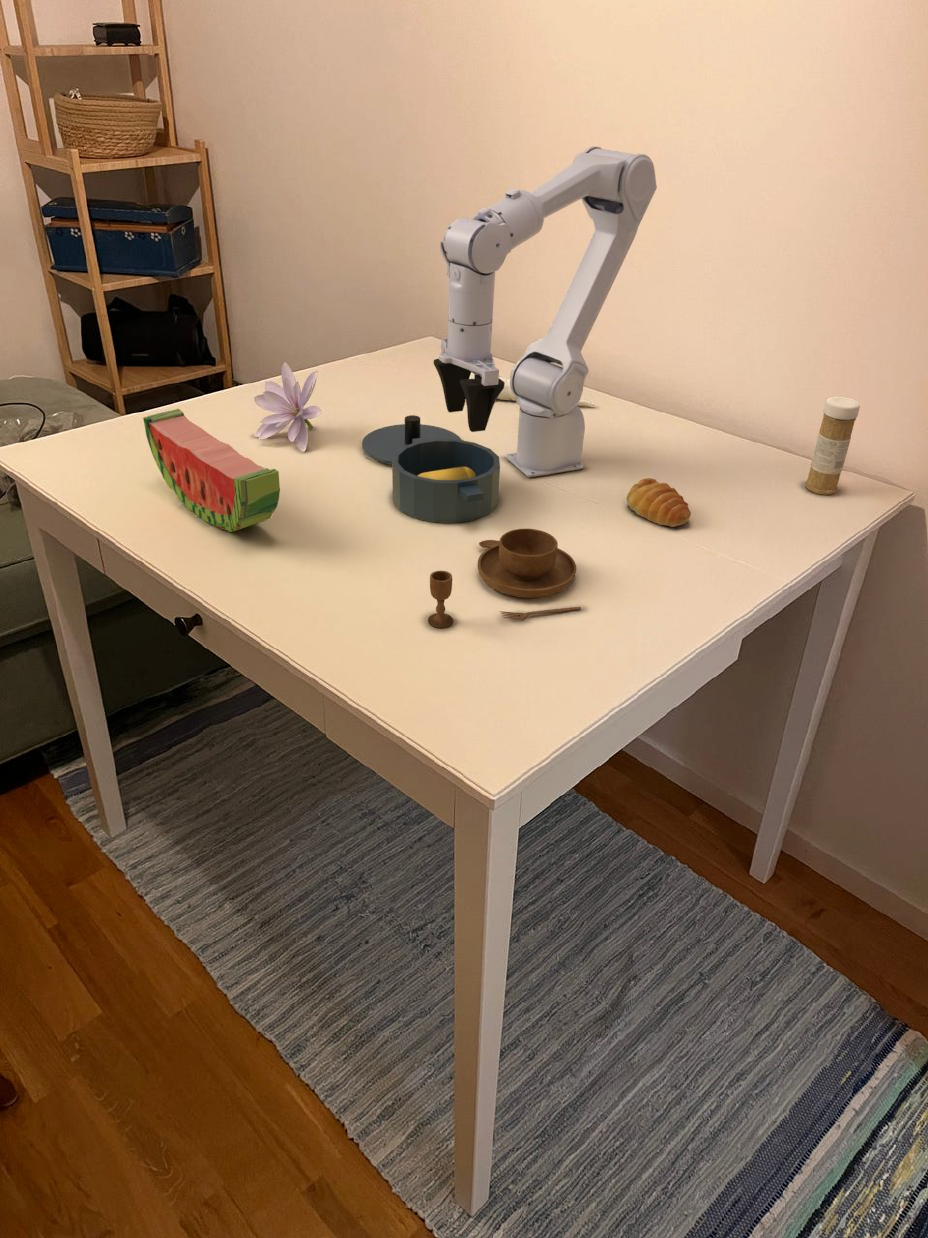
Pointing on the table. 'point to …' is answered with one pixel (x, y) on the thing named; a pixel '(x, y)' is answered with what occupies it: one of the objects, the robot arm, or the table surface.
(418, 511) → the pot
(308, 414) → the water lily
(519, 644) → the table surface
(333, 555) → the table surface
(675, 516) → the pastry
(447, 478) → the yellow rounded capsule
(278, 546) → the table surface
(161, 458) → the fruit slice
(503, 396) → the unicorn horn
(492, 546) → the place setting
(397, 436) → the pot lid
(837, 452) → the sprinkles bottle
